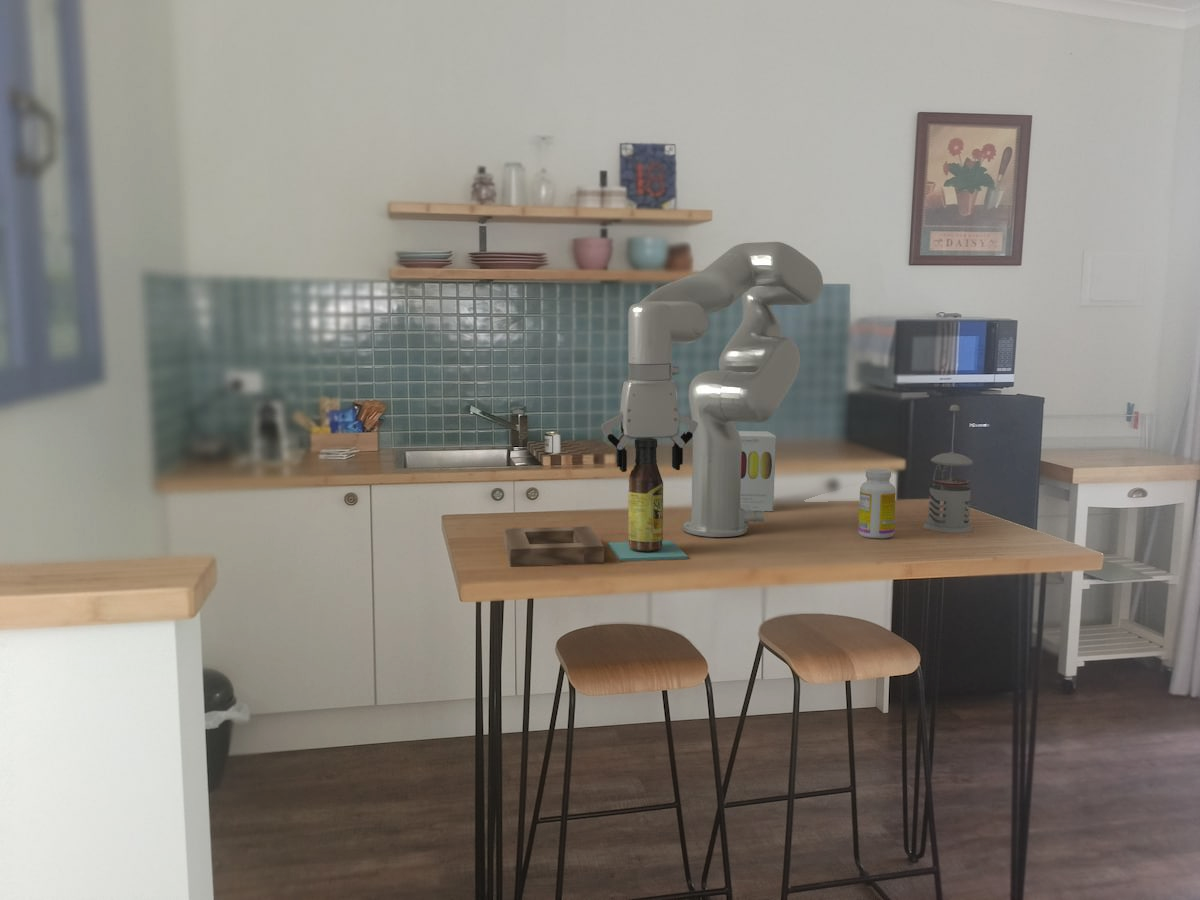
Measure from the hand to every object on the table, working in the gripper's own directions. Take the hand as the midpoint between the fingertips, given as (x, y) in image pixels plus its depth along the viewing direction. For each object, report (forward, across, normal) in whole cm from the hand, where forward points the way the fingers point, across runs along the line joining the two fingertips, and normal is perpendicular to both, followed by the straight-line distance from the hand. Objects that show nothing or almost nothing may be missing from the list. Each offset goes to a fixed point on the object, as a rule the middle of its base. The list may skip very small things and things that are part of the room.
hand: (649, 469), depth 175 cm
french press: (+16, -64, -12) cm, 68 cm away
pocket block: (+15, +18, 0) cm, 23 cm away
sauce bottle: (+14, +1, 0) cm, 15 cm away
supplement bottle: (+16, -46, -6) cm, 49 cm away
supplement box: (+16, -30, -36) cm, 50 cm away
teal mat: (+15, +1, 0) cm, 15 cm away
